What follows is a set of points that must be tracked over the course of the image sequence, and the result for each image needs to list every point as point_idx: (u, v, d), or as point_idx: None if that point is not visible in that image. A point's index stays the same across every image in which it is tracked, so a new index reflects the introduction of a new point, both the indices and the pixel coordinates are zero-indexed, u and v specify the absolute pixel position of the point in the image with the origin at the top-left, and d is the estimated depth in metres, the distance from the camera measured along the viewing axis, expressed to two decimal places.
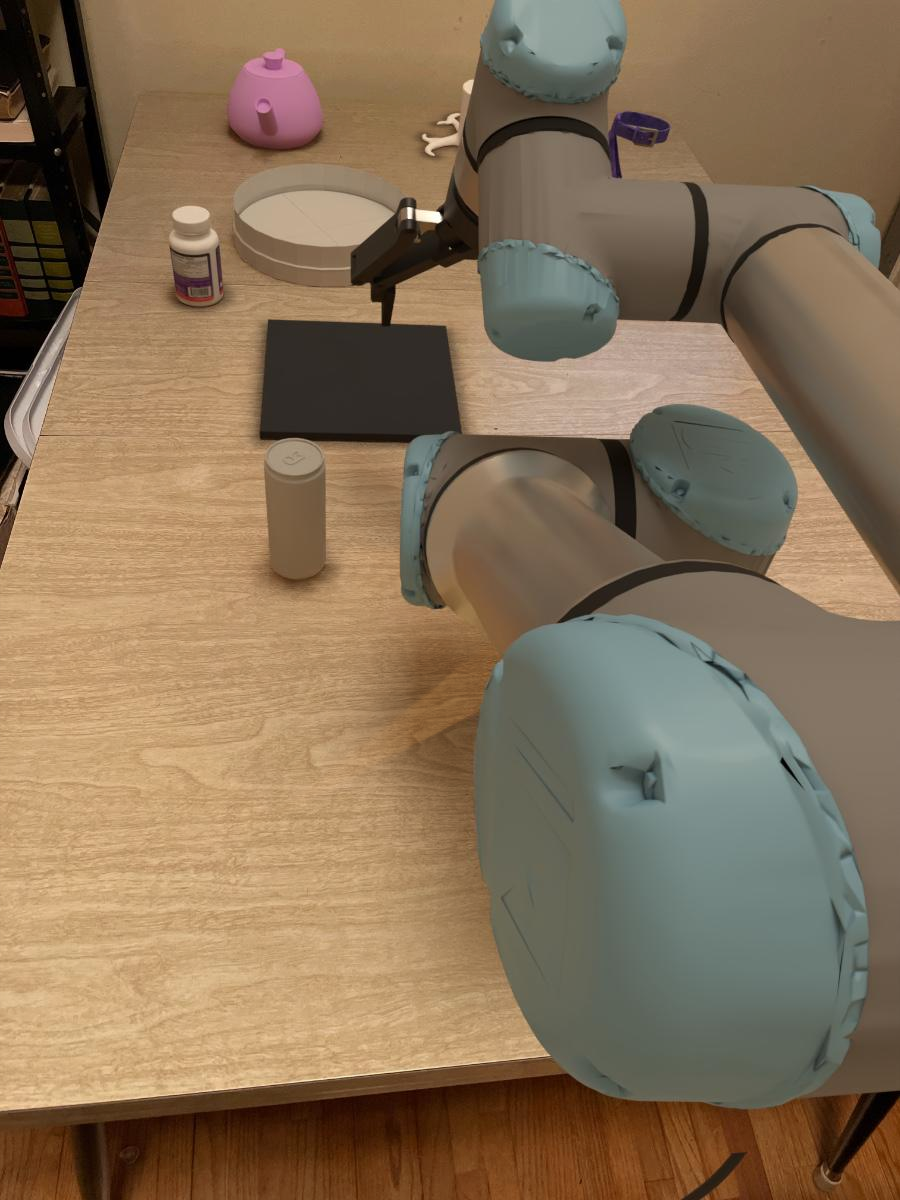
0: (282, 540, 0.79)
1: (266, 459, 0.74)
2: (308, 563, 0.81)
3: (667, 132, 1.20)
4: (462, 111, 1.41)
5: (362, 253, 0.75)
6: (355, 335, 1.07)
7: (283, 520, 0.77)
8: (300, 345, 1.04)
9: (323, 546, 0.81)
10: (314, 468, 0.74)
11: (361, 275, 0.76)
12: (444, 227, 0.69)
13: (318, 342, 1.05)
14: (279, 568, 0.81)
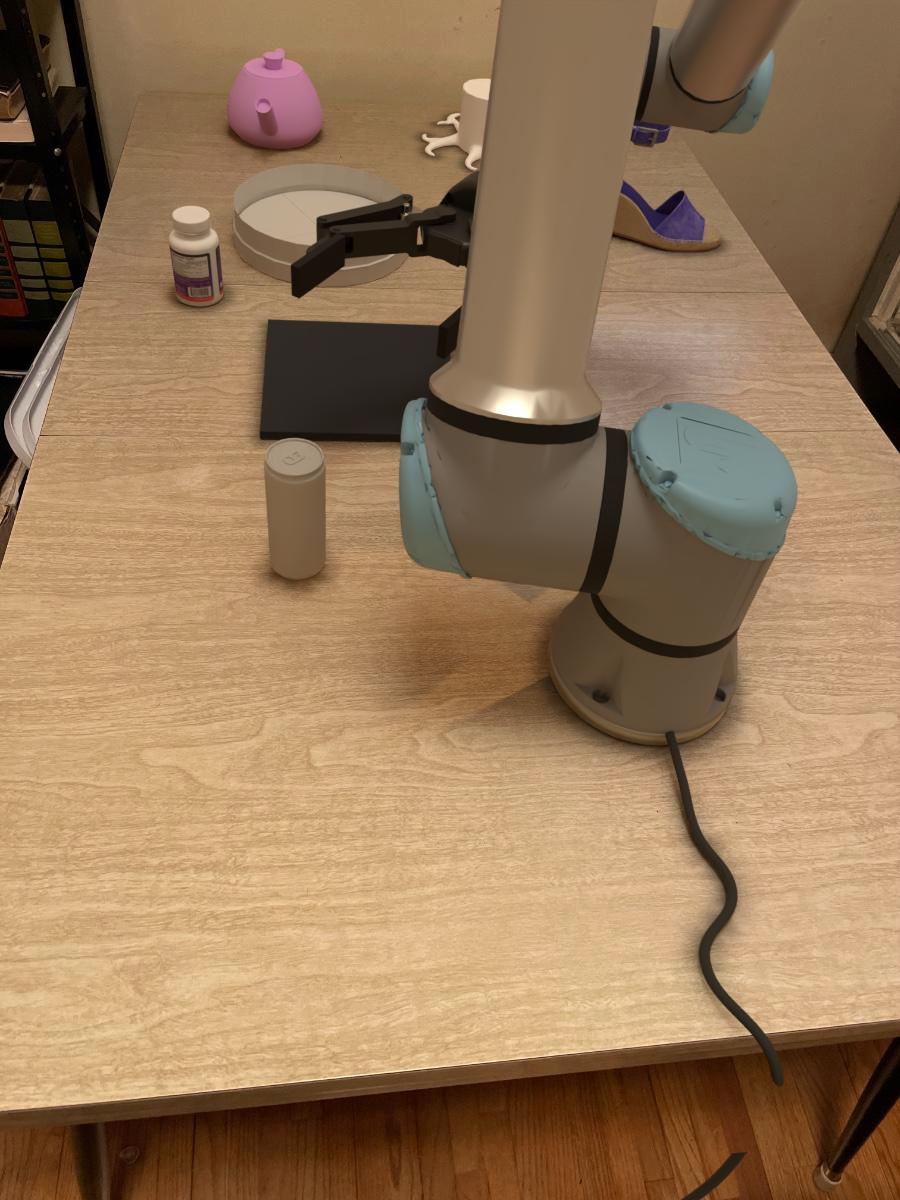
0: (282, 540, 0.79)
1: (266, 459, 0.74)
2: (308, 563, 0.81)
3: (667, 132, 1.20)
4: (462, 111, 1.41)
5: None
6: (355, 335, 1.07)
7: (283, 520, 0.77)
8: (300, 345, 1.04)
9: (323, 546, 0.81)
10: (314, 468, 0.74)
11: (333, 215, 0.82)
12: (433, 207, 0.85)
13: (318, 342, 1.05)
14: (279, 568, 0.81)
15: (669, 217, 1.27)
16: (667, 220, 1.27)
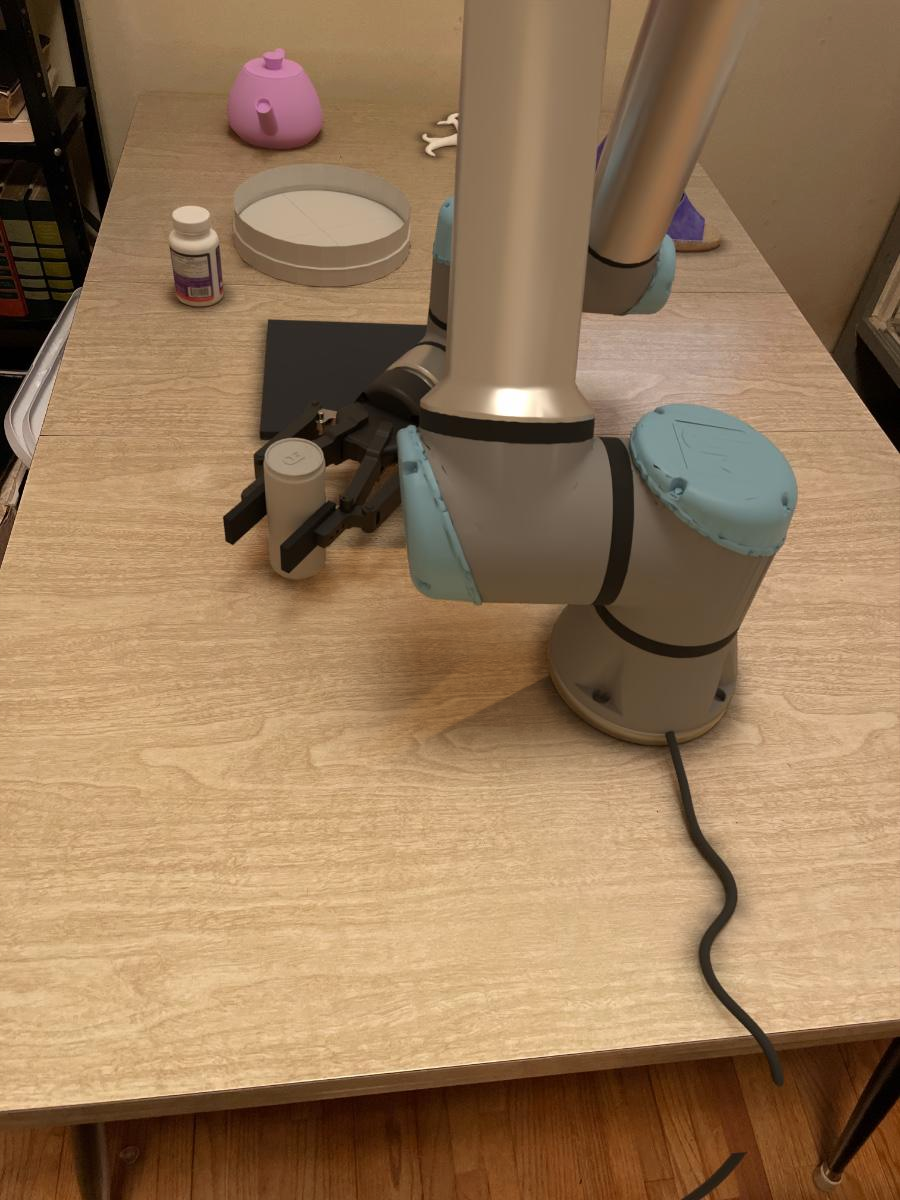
0: (282, 540, 0.79)
1: (266, 459, 0.74)
2: (308, 563, 0.81)
3: None
4: None
5: None
6: (355, 335, 1.07)
7: (283, 520, 0.77)
8: (300, 345, 1.04)
9: None
10: (314, 468, 0.74)
11: (266, 447, 0.82)
12: None
13: (318, 342, 1.05)
14: (279, 568, 0.81)
15: None
16: None
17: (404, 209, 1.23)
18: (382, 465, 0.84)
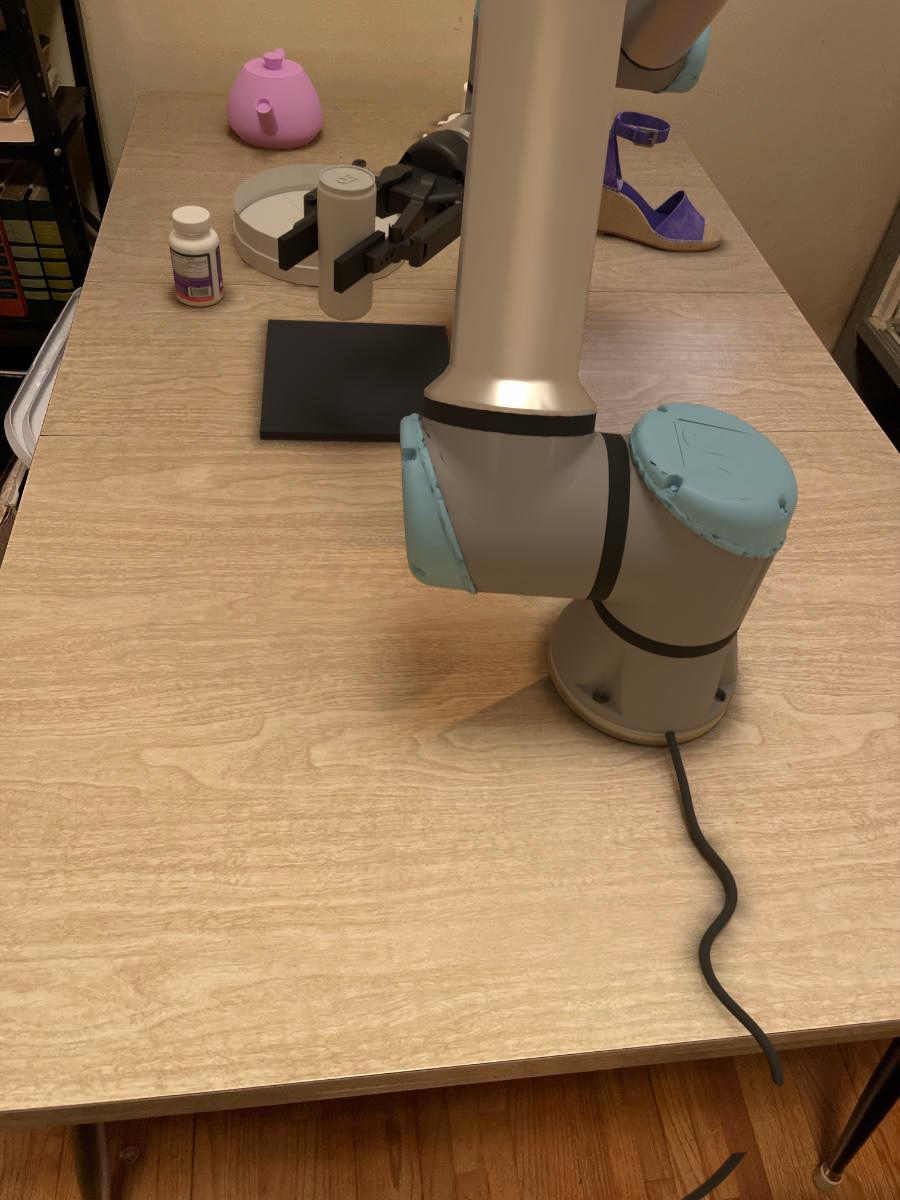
0: (333, 271, 0.82)
1: (320, 178, 0.77)
2: (356, 300, 0.84)
3: (667, 132, 1.20)
4: (463, 111, 1.41)
5: None
6: (355, 335, 1.07)
7: (335, 246, 0.80)
8: (300, 345, 1.04)
9: (371, 285, 0.84)
10: (366, 186, 0.77)
11: (315, 191, 0.85)
12: (387, 166, 0.90)
13: (318, 342, 1.05)
14: (328, 306, 0.84)
15: (669, 217, 1.27)
16: (667, 220, 1.27)
17: None
18: (426, 216, 0.87)
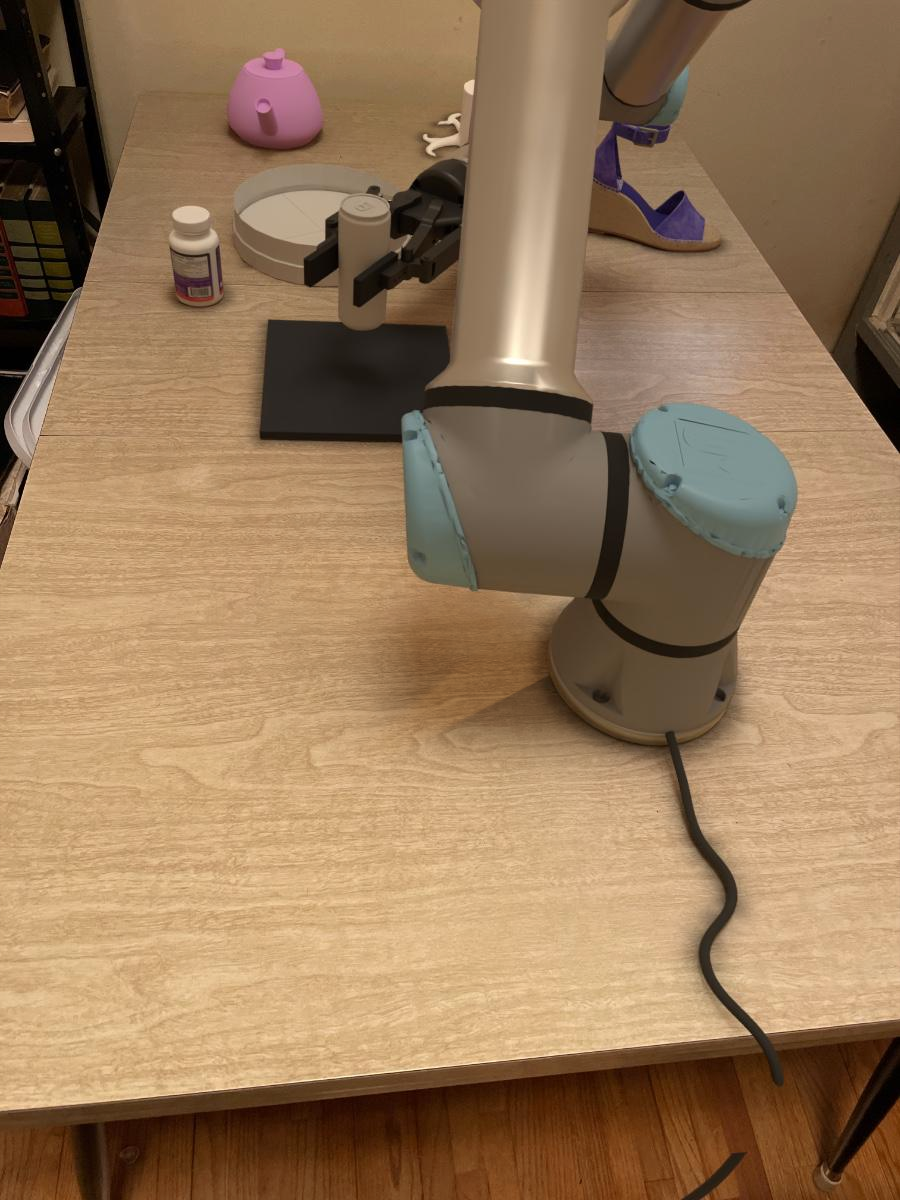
0: (351, 287, 0.92)
1: (341, 206, 0.88)
2: (372, 312, 0.94)
3: (667, 132, 1.20)
4: (463, 111, 1.41)
5: None
6: (355, 335, 1.07)
7: (354, 265, 0.90)
8: (300, 345, 1.04)
9: (385, 299, 0.95)
10: (382, 213, 0.88)
11: (335, 215, 0.95)
12: None
13: (318, 342, 1.05)
14: (347, 318, 0.95)
15: (669, 217, 1.27)
16: (667, 220, 1.27)
17: None
18: (434, 237, 0.98)
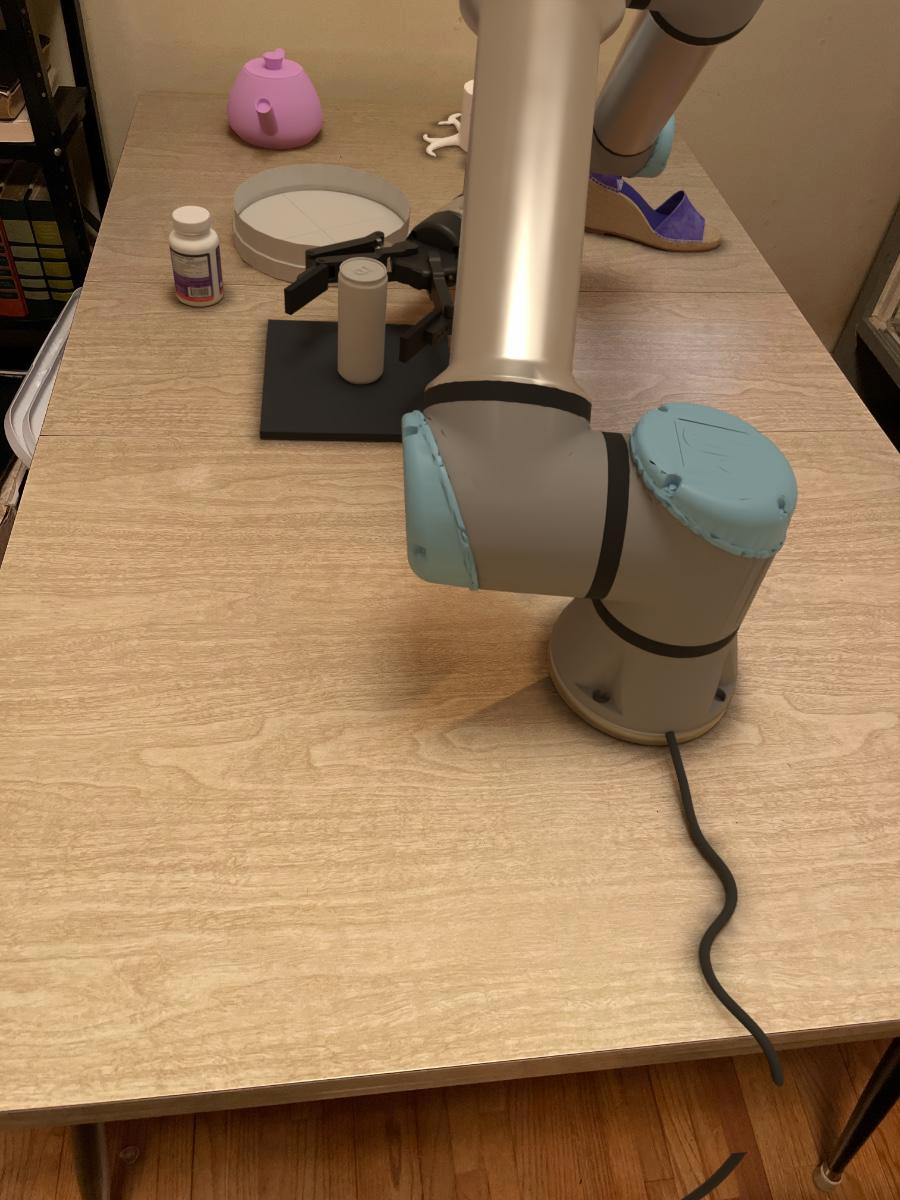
0: (350, 345, 0.97)
1: (341, 270, 0.92)
2: (370, 367, 0.99)
3: None
4: (463, 111, 1.41)
5: None
6: None
7: (353, 325, 0.95)
8: (300, 345, 1.04)
9: (382, 354, 0.99)
10: (379, 277, 0.92)
11: (319, 248, 1.02)
12: None
13: (318, 342, 1.05)
14: (346, 372, 0.99)
15: (669, 217, 1.27)
16: (667, 220, 1.27)
17: (404, 209, 1.23)
18: (430, 286, 1.02)
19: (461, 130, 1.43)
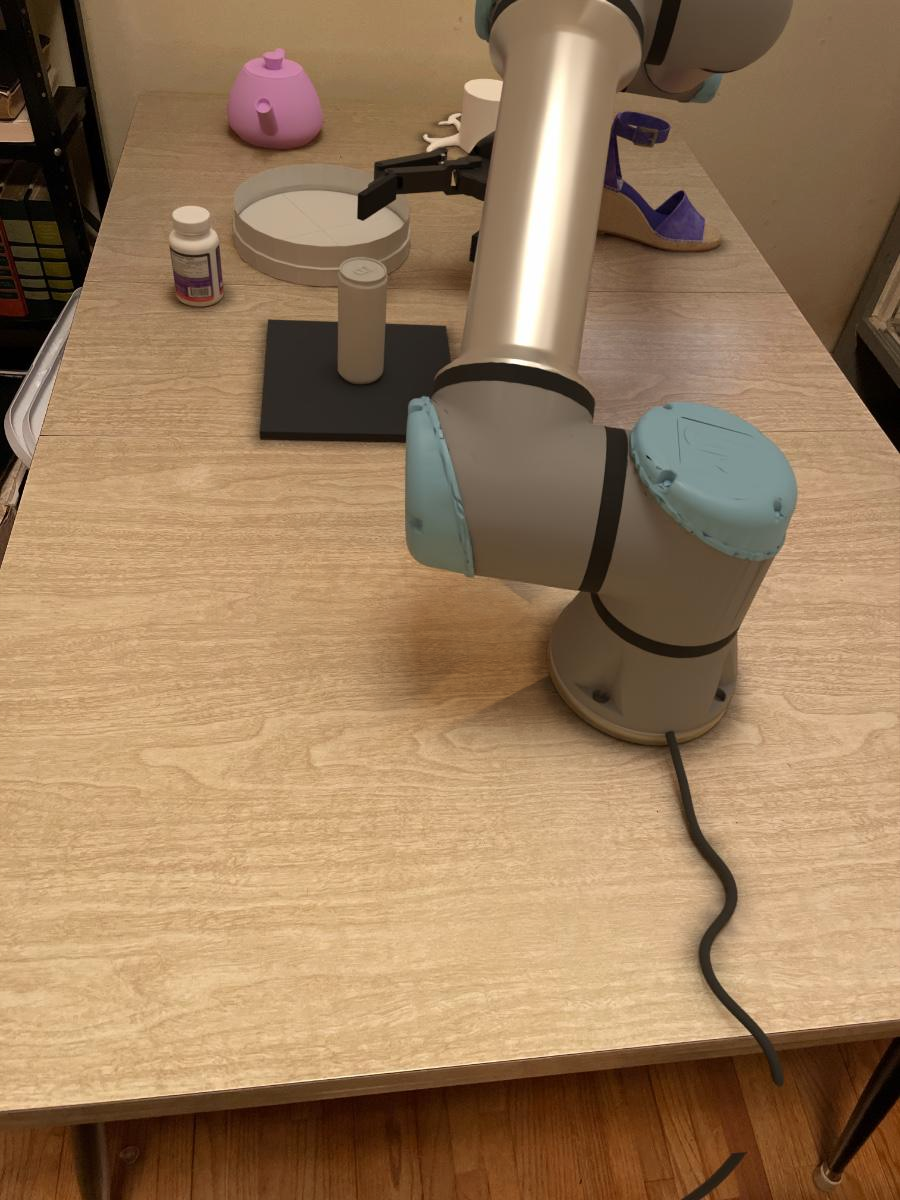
0: (350, 345, 0.97)
1: (341, 270, 0.92)
2: (370, 368, 0.99)
3: (667, 132, 1.20)
4: (463, 111, 1.41)
5: None
6: None
7: (352, 325, 0.95)
8: (300, 345, 1.04)
9: (382, 354, 0.99)
10: (379, 277, 0.92)
11: (387, 161, 1.06)
12: (463, 157, 1.09)
13: (318, 342, 1.05)
14: (346, 372, 0.99)
15: (669, 217, 1.27)
16: (667, 220, 1.27)
17: (404, 209, 1.23)
18: None
19: (461, 130, 1.43)
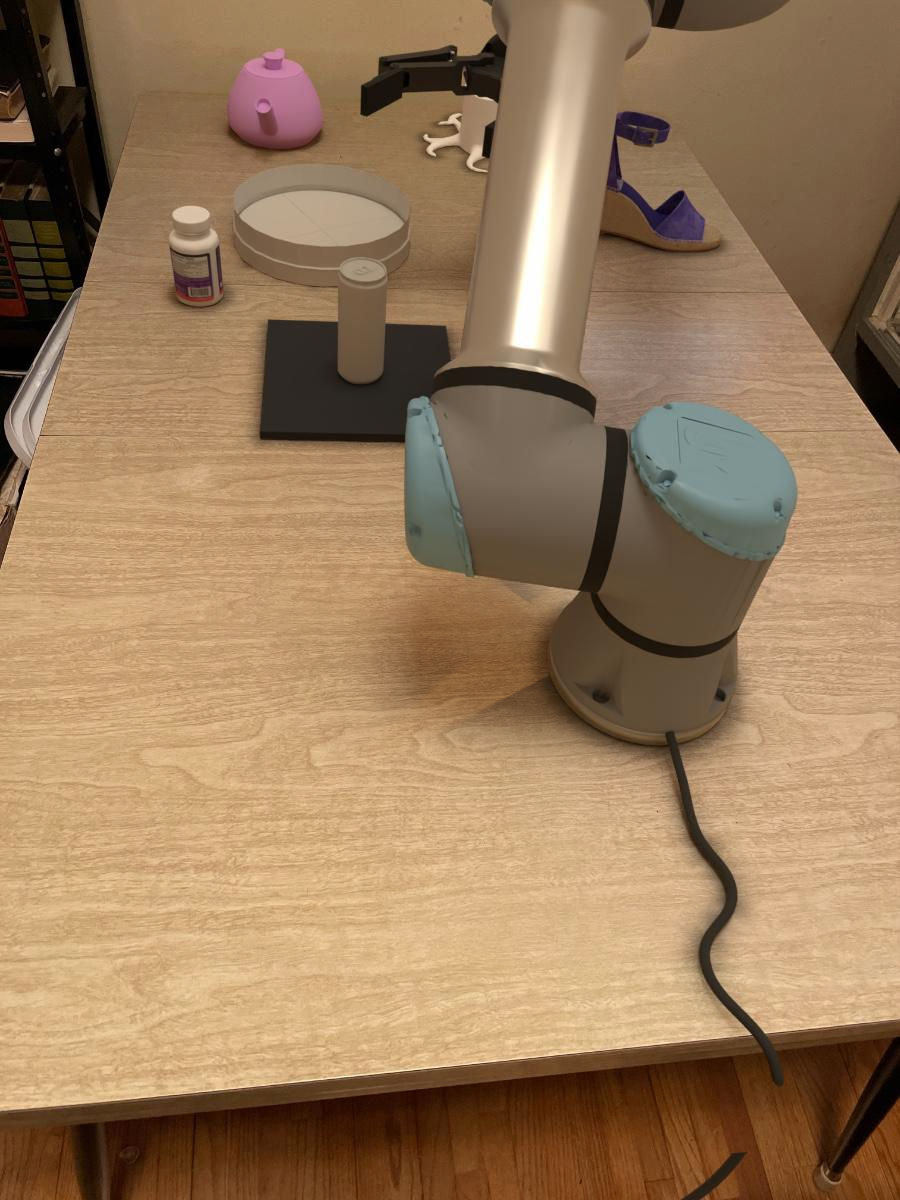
0: (350, 345, 0.97)
1: (341, 270, 0.92)
2: (370, 368, 0.99)
3: (667, 132, 1.20)
4: (464, 111, 1.41)
5: None
6: None
7: (352, 325, 0.95)
8: (300, 345, 1.04)
9: (382, 354, 0.99)
10: (379, 277, 0.92)
11: (392, 56, 0.98)
12: None
13: (318, 342, 1.05)
14: (346, 372, 0.99)
15: (669, 217, 1.27)
16: (667, 220, 1.27)
17: (404, 209, 1.23)
18: None
19: (461, 130, 1.43)
